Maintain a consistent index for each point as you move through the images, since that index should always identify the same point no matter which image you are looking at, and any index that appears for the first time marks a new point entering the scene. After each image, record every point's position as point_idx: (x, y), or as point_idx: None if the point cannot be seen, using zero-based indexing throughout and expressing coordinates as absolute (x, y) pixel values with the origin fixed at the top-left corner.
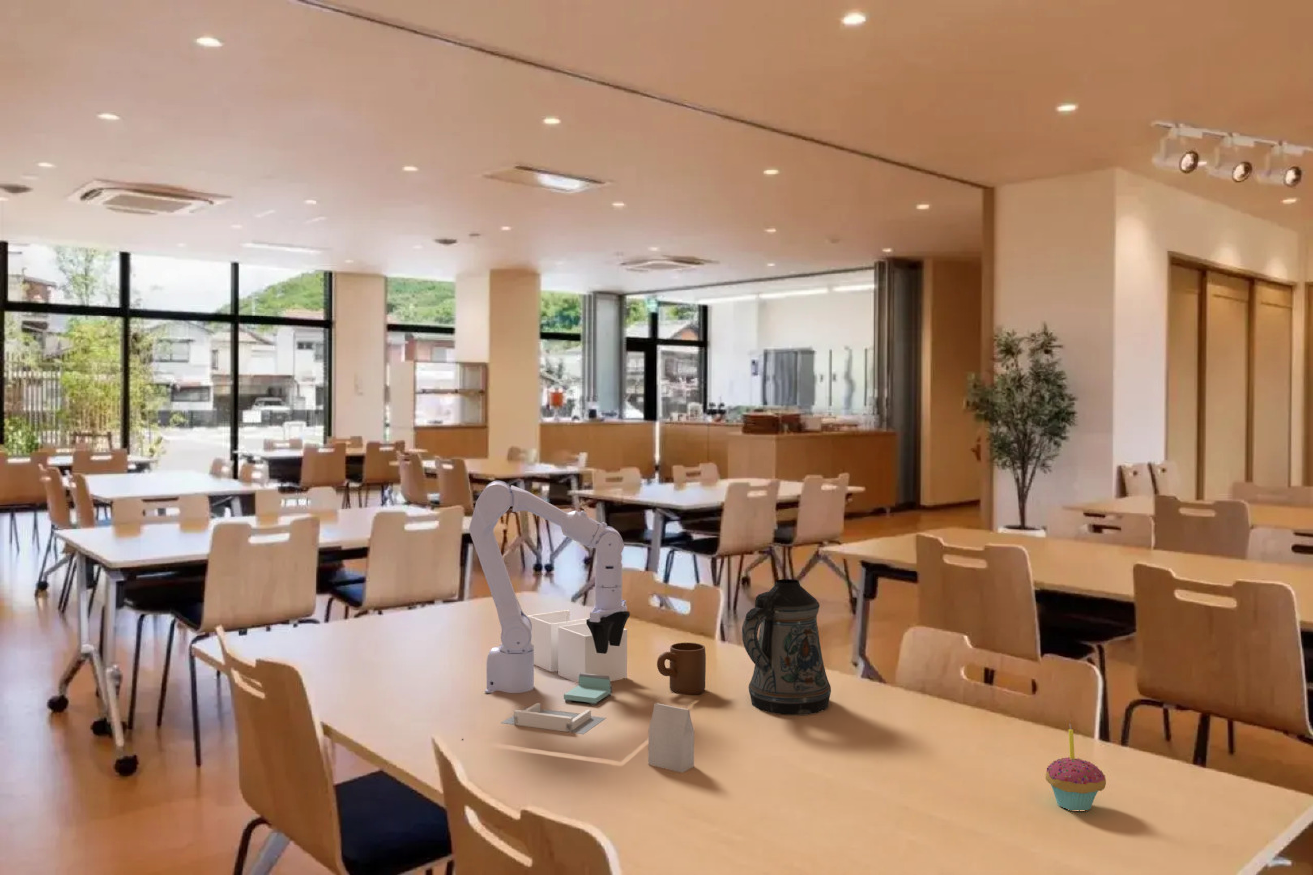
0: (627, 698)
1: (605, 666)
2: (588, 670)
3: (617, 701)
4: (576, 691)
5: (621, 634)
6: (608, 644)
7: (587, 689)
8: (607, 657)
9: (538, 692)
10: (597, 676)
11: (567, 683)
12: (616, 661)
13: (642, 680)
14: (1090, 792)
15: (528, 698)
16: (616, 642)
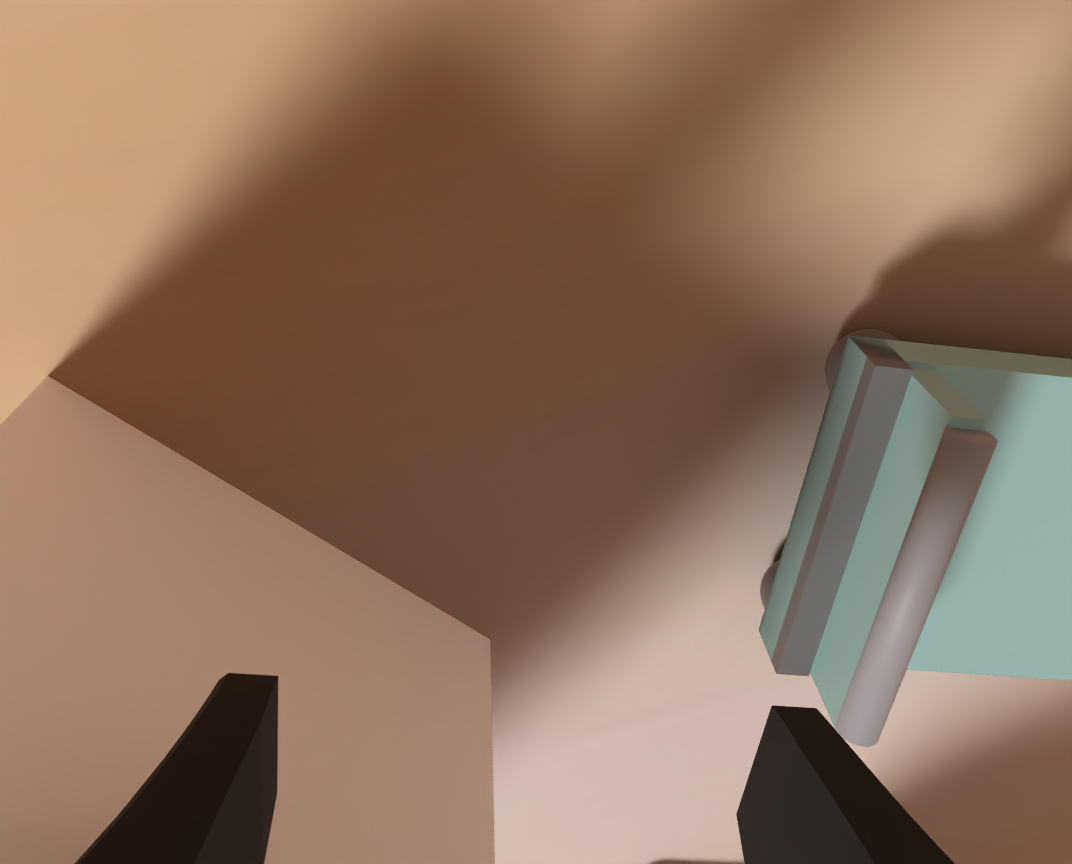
0: (809, 152)
1: (266, 629)
2: (456, 727)
3: (928, 226)
4: (1033, 621)
5: (185, 814)
6: None
7: (958, 557)
8: None
9: (741, 857)
10: (946, 562)
11: None
12: (108, 573)
13: (52, 181)
14: None
15: None
16: (268, 753)
